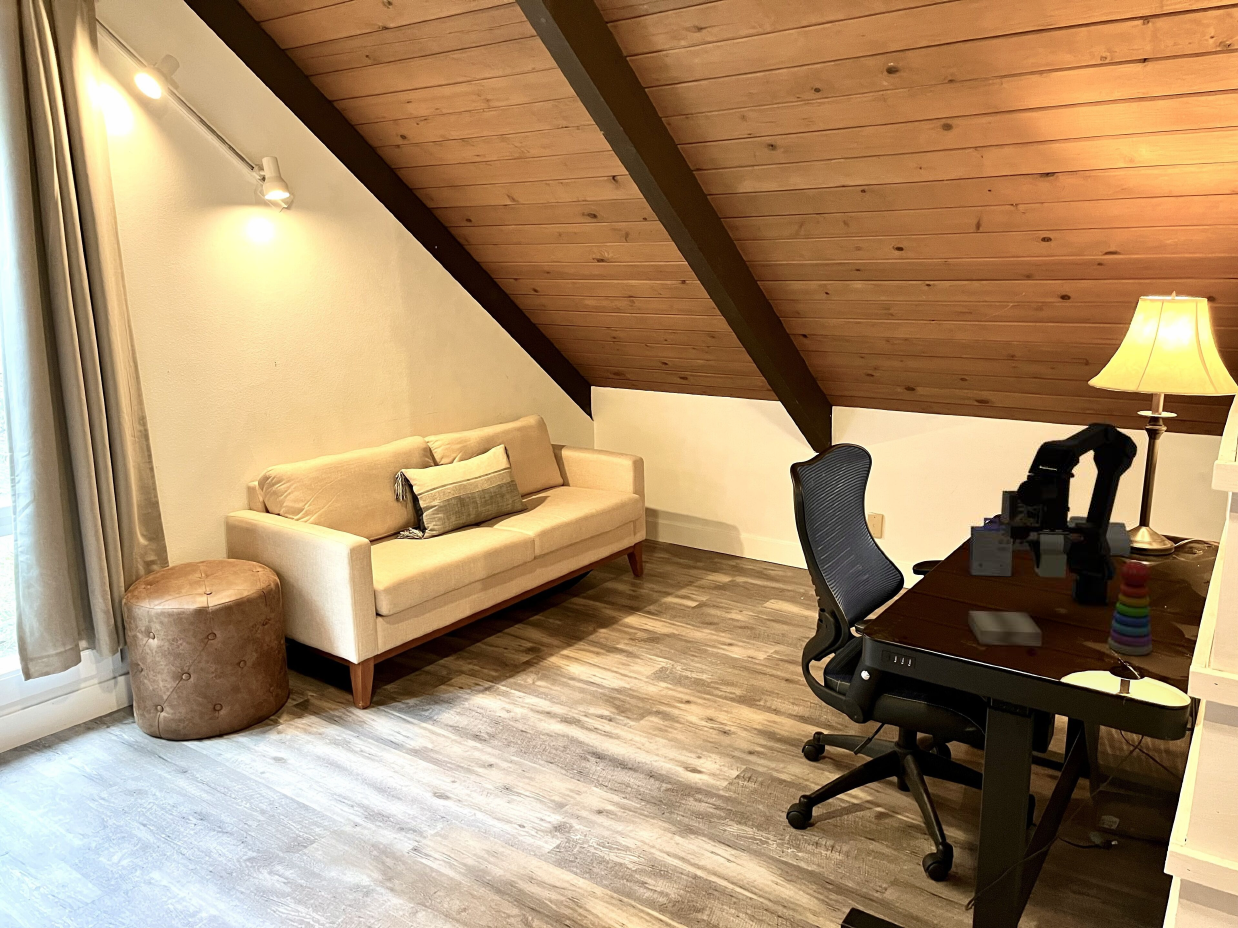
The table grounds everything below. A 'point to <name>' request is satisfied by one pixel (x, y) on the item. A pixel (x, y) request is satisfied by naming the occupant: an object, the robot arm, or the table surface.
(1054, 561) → the sage cube
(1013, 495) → the coffee box
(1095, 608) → the table surface
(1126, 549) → the book
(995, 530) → the ink cartridge box
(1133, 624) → the stacking toy
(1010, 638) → the birch base block
